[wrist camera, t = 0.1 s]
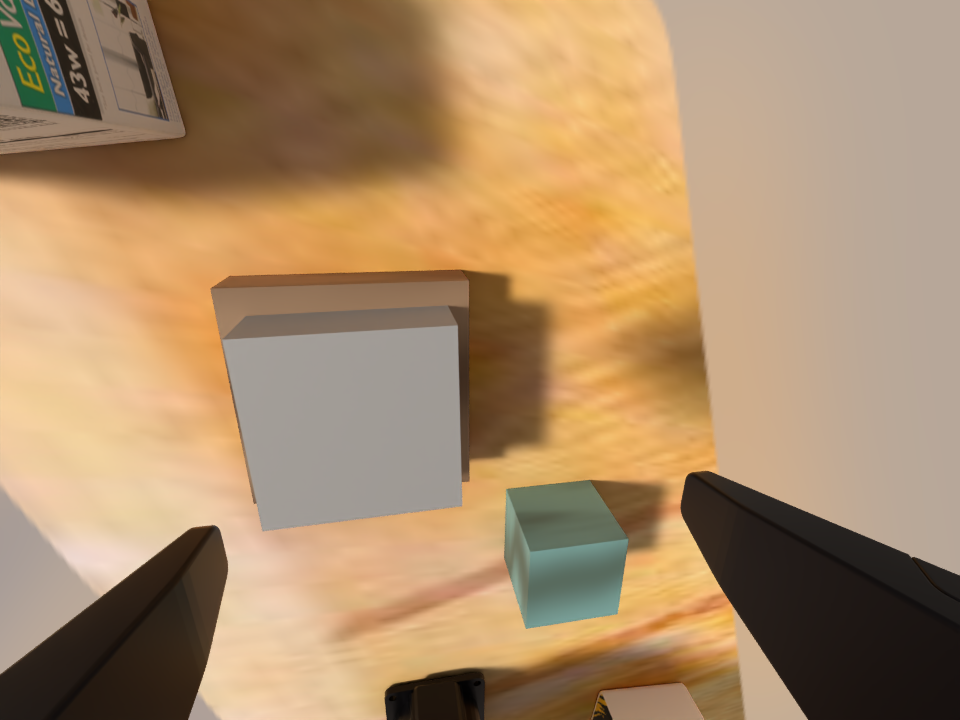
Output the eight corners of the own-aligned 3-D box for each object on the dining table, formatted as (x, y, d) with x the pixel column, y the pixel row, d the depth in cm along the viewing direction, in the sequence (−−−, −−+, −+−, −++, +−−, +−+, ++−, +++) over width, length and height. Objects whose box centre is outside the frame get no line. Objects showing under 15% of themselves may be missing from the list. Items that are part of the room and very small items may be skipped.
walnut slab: (460, 449, 26) (469, 481, 24) (268, 466, 25) (253, 503, 22) (458, 267, 23) (468, 280, 20) (233, 273, 21) (210, 288, 18)
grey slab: (452, 466, 23) (462, 505, 20) (277, 486, 22) (262, 531, 19) (447, 305, 20) (457, 325, 17) (245, 316, 19) (222, 339, 16)
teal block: (582, 546, 30) (617, 614, 25) (504, 556, 29) (525, 628, 24) (589, 479, 28) (628, 538, 23) (506, 488, 27) (530, 552, 23)
